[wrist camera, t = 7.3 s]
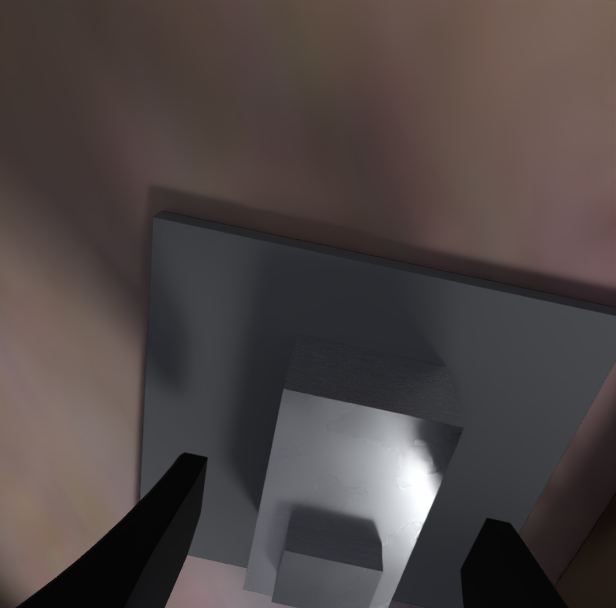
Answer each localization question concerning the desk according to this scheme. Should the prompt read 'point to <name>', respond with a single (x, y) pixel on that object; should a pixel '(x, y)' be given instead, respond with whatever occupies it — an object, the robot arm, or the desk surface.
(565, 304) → the mat
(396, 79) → the desk surface
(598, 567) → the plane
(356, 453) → the lever cap
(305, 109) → the desk surface
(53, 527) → the desk surface
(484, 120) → the desk surface
